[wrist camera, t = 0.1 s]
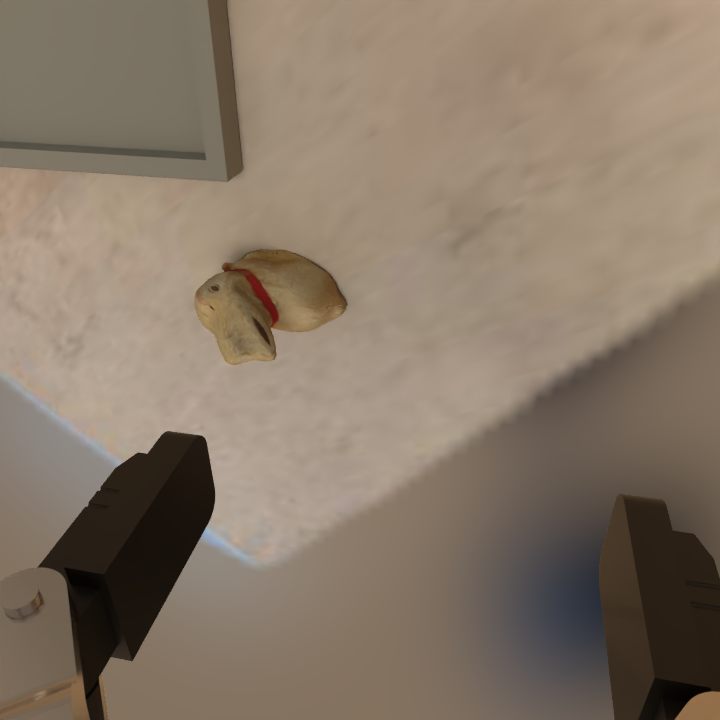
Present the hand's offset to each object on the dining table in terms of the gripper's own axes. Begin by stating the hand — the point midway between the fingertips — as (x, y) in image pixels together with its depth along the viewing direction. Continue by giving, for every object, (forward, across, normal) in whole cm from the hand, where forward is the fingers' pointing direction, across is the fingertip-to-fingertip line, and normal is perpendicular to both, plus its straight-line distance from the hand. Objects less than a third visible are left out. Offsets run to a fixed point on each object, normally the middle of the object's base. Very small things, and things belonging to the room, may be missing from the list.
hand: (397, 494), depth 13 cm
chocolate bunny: (+29, +12, +10) cm, 33 cm away
